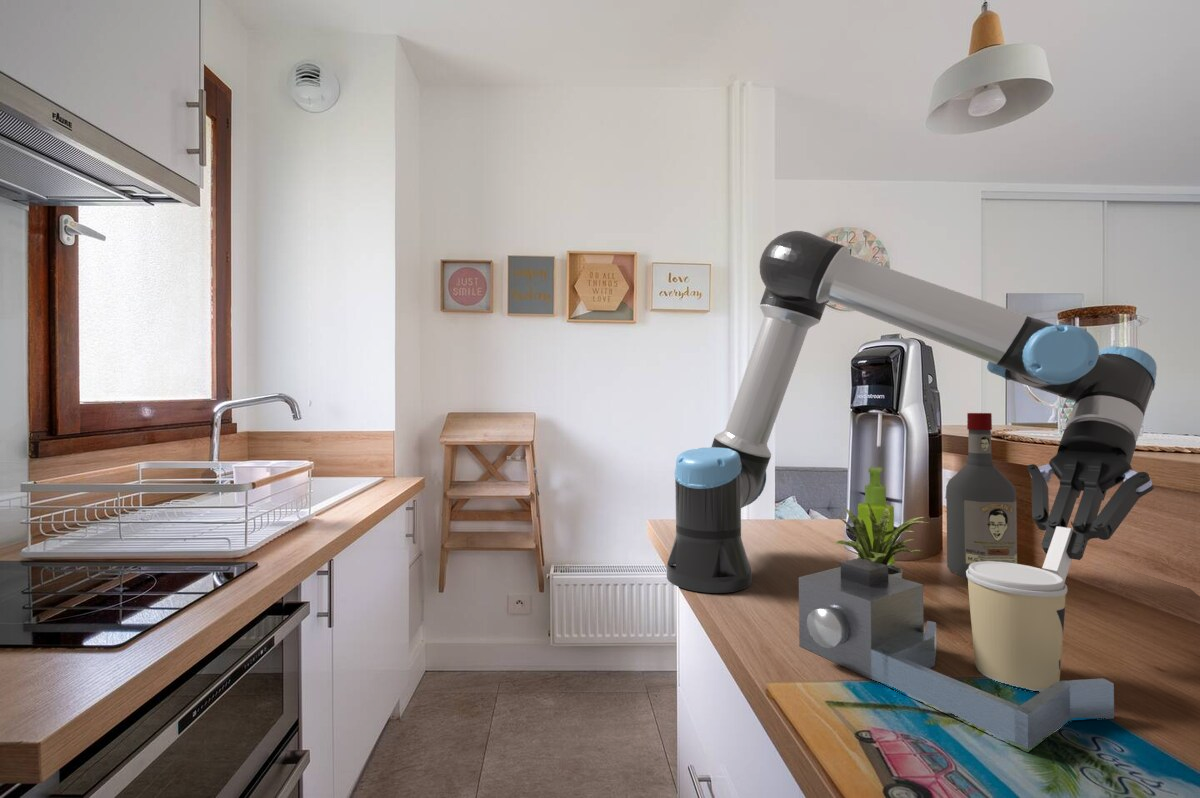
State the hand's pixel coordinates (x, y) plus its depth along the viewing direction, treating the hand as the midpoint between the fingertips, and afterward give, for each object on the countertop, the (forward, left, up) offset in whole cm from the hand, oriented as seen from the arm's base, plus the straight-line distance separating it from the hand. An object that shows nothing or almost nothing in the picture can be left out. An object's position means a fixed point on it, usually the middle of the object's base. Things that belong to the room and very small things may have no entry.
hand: (1053, 575), depth 66 cm
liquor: (-7, +35, -11) cm, 37 cm away
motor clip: (-12, -14, -10) cm, 21 cm away
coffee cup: (-4, -7, -11) cm, 14 cm away
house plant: (-20, +6, -11) cm, 23 cm away
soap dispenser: (-23, +24, -11) cm, 34 cm away
